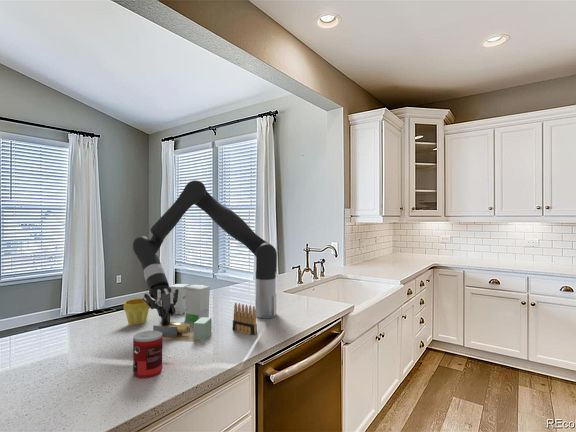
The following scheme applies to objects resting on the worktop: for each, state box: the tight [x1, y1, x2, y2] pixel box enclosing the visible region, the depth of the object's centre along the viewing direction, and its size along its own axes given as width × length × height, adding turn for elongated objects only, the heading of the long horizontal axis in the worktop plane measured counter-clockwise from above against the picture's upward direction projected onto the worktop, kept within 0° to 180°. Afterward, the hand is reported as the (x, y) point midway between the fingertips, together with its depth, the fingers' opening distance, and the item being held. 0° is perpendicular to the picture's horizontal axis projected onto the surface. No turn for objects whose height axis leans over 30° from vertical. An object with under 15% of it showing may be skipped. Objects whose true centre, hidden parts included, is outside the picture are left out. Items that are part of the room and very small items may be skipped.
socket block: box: [193, 317, 212, 341], centre depth 125 cm, size 4×7×6 cm, turn 173°
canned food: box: [132, 330, 163, 379], centre depth 99 cm, size 8×8×11 cm
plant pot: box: [123, 297, 151, 326], centre depth 142 cm, size 10×10×10 cm
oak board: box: [162, 330, 213, 343], centre depth 126 cm, size 20×10×1 cm, turn 83°
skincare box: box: [184, 283, 211, 323], centre depth 145 cm, size 8×7×16 cm
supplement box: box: [169, 283, 190, 315], centre depth 161 cm, size 7×7×13 cm
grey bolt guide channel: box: [152, 320, 184, 338], centre depth 126 cm, size 9×5×4 cm, turn 82°
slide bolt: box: [158, 292, 191, 334], centre depth 126 cm, size 11×3×14 cm, turn 83°
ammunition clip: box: [232, 302, 258, 336], centre depth 130 cm, size 11×2×12 cm, turn 59°
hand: (168, 315), depth 125 cm, fingers closed on slide bolt, 3 cm apart
